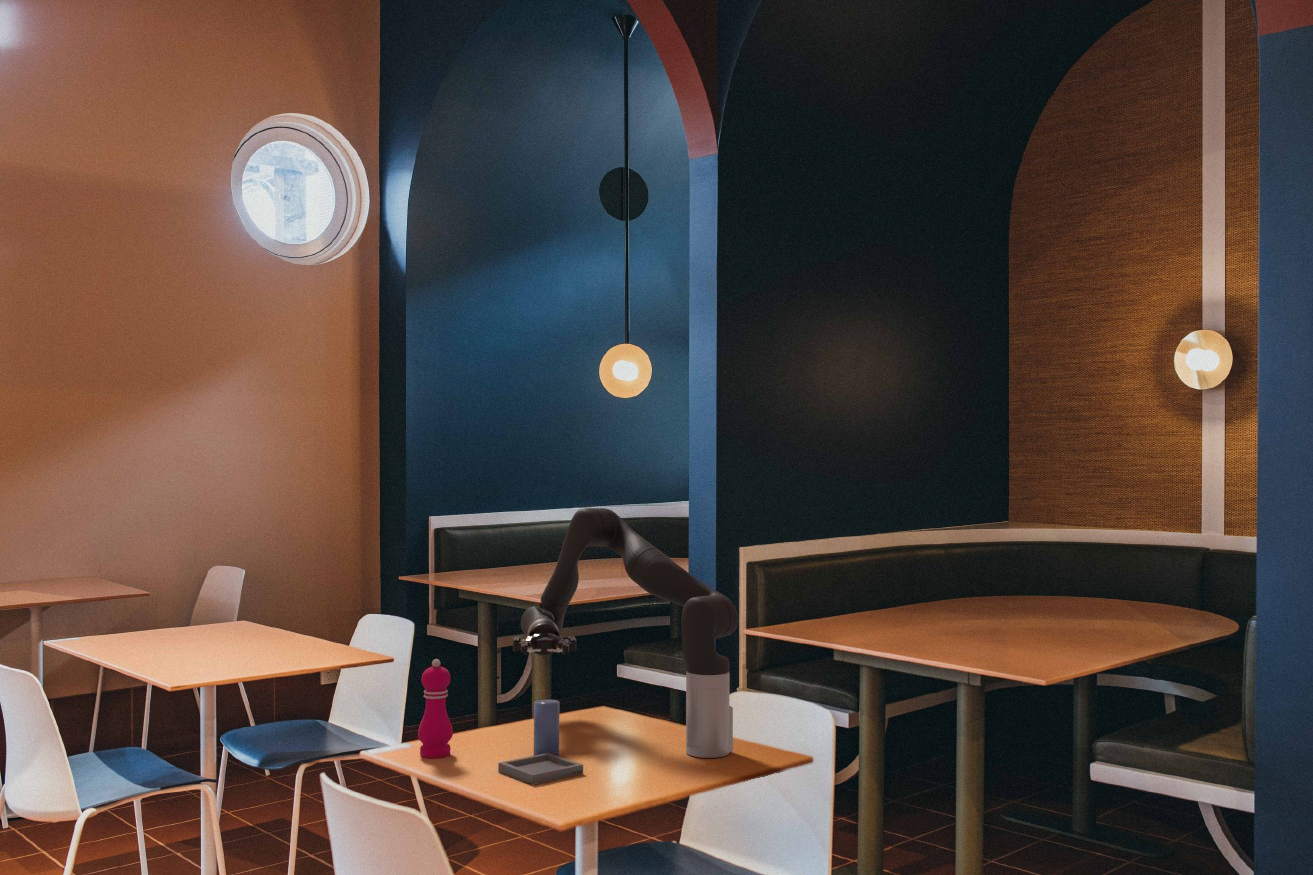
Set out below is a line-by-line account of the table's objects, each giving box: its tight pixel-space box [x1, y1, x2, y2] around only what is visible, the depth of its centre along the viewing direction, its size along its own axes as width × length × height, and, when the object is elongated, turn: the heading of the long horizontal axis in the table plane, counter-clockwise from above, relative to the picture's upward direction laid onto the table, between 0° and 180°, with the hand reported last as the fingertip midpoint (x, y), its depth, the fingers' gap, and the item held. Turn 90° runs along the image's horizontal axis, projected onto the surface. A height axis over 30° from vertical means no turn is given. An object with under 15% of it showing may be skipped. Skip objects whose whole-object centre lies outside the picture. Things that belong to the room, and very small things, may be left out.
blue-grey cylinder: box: [533, 699, 561, 756], centre depth 228 cm, size 5×5×11 cm
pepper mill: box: [417, 658, 454, 759], centre depth 228 cm, size 7×7×20 cm
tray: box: [497, 753, 584, 786], centre depth 214 cm, size 12×12×2 cm
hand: (545, 649), depth 239 cm, fingers open, 8 cm apart
